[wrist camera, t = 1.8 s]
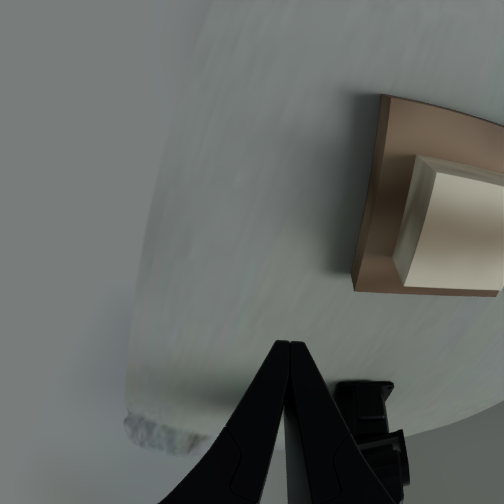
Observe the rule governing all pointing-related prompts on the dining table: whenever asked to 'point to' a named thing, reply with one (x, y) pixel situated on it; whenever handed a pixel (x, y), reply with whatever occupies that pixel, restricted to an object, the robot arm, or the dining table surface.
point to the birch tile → (452, 227)
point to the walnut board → (399, 179)
